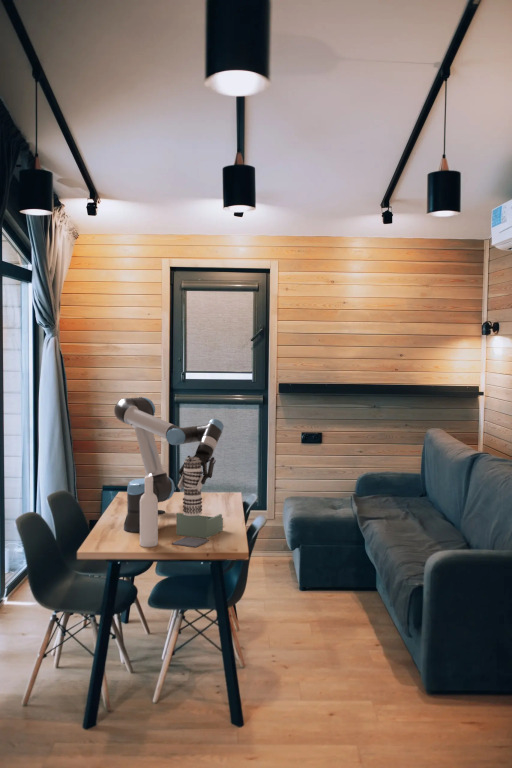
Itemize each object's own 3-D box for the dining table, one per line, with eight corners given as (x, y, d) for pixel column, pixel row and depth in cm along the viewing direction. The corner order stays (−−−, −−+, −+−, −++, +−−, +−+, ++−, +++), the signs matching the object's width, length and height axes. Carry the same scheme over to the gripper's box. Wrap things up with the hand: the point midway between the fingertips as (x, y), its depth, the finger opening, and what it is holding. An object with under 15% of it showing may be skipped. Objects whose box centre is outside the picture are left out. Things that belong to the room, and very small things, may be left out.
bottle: (158, 542, 284) (158, 475, 283) (158, 546, 276) (158, 478, 275) (139, 542, 283) (139, 475, 282) (139, 547, 275) (139, 478, 274)
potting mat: (172, 544, 280) (172, 543, 280) (186, 537, 291) (186, 536, 291) (195, 547, 275) (195, 546, 275) (209, 540, 286) (209, 539, 286)
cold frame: (176, 534, 297) (176, 513, 297) (193, 526, 311) (193, 506, 311) (206, 538, 290) (206, 516, 290) (222, 530, 305) (222, 509, 304)
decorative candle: (184, 516, 277) (184, 459, 276) (180, 512, 286) (180, 456, 285) (204, 515, 279) (204, 458, 279) (200, 510, 288) (200, 455, 288)
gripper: (229, 454, 291) (213, 495, 277) (189, 452, 300) (170, 491, 286) (224, 444, 287) (207, 485, 272) (183, 442, 295) (164, 481, 281)
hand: (188, 488), depth 279 cm, fingers closed on decorative candle, 9 cm apart
